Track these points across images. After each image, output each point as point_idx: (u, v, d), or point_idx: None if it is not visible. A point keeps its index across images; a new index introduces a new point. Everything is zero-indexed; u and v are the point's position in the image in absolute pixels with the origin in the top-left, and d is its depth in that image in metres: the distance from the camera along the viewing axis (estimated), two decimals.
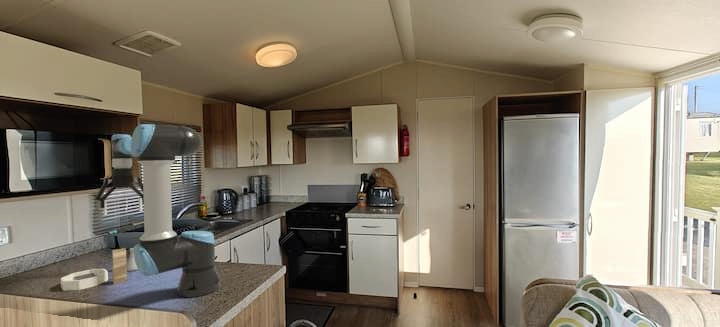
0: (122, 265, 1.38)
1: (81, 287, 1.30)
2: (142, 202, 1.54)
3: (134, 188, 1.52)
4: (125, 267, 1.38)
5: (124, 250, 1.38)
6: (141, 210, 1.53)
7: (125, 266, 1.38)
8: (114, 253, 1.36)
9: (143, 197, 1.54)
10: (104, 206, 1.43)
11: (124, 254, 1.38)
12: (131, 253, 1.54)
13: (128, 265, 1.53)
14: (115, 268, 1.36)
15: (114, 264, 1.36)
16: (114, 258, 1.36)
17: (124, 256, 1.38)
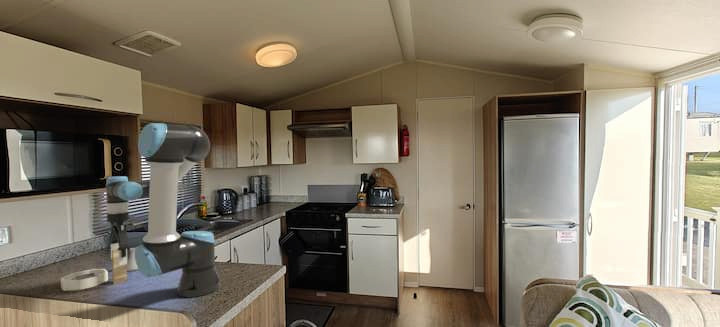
0: (122, 265, 1.38)
1: (81, 287, 1.30)
2: (121, 255, 1.33)
3: (117, 237, 1.34)
4: (125, 267, 1.38)
5: None
6: (119, 264, 1.33)
7: (125, 266, 1.38)
8: (114, 253, 1.36)
9: (117, 249, 1.32)
10: None
11: None
12: (131, 253, 1.54)
13: (128, 265, 1.53)
14: (115, 268, 1.36)
15: (114, 264, 1.36)
16: (114, 258, 1.36)
17: None
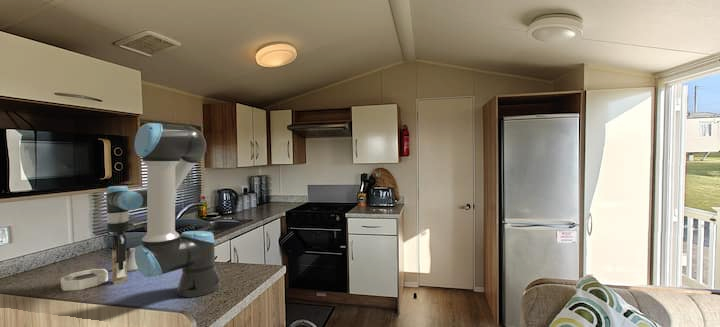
0: None
1: (81, 287, 1.30)
2: (118, 267, 1.36)
3: (116, 248, 1.36)
4: (125, 267, 1.38)
5: None
6: None
7: (125, 266, 1.38)
8: (114, 253, 1.36)
9: (115, 262, 1.35)
10: None
11: None
12: (131, 253, 1.54)
13: (128, 265, 1.53)
14: (115, 268, 1.36)
15: (114, 264, 1.36)
16: (114, 258, 1.36)
17: None
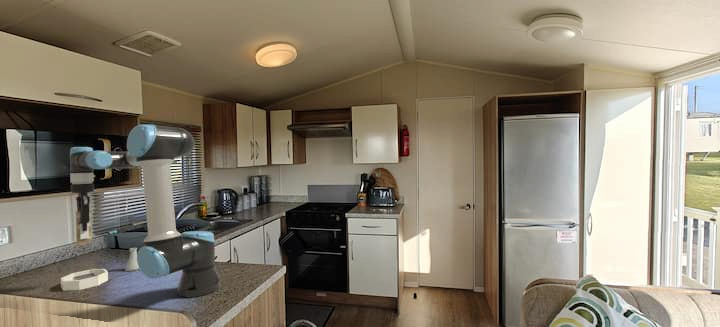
0: None
1: (81, 287, 1.30)
2: (82, 229, 1.35)
3: (80, 209, 1.35)
4: (89, 229, 1.37)
5: None
6: (80, 237, 1.35)
7: (89, 228, 1.37)
8: (78, 213, 1.35)
9: (78, 223, 1.34)
10: None
11: None
12: (131, 253, 1.54)
13: (128, 265, 1.53)
14: (79, 229, 1.35)
15: (78, 225, 1.35)
16: (78, 219, 1.35)
17: None
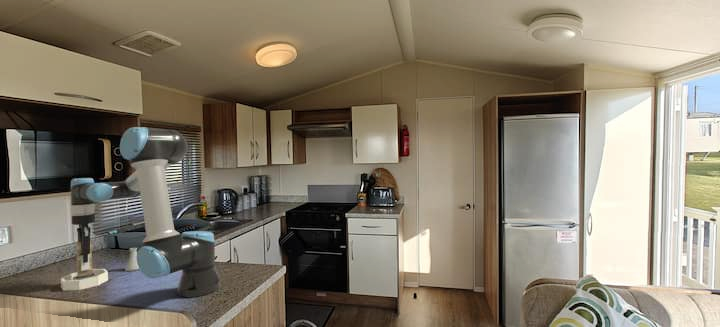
0: None
1: (81, 287, 1.30)
2: (83, 260, 1.35)
3: (81, 241, 1.35)
4: (90, 260, 1.37)
5: None
6: (81, 269, 1.35)
7: (90, 259, 1.37)
8: (78, 245, 1.35)
9: (79, 254, 1.34)
10: None
11: None
12: (131, 253, 1.54)
13: (128, 265, 1.53)
14: (79, 261, 1.35)
15: (78, 256, 1.35)
16: (78, 250, 1.35)
17: None
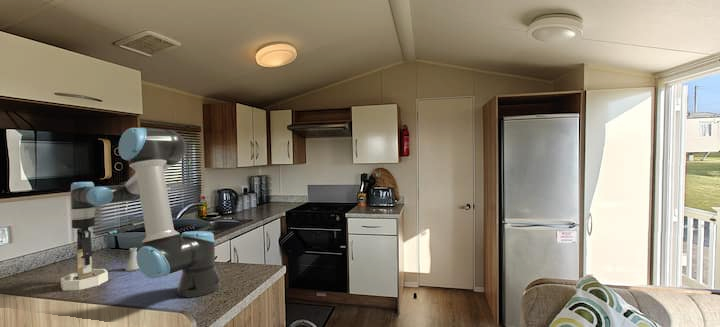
0: None
1: (81, 287, 1.30)
2: (85, 263, 1.32)
3: (81, 244, 1.34)
4: (91, 267, 1.37)
5: None
6: (83, 272, 1.32)
7: None
8: (78, 252, 1.34)
9: (81, 257, 1.31)
10: None
11: None
12: (131, 253, 1.54)
13: (128, 265, 1.53)
14: (80, 268, 1.35)
15: (79, 264, 1.34)
16: (79, 258, 1.34)
17: None
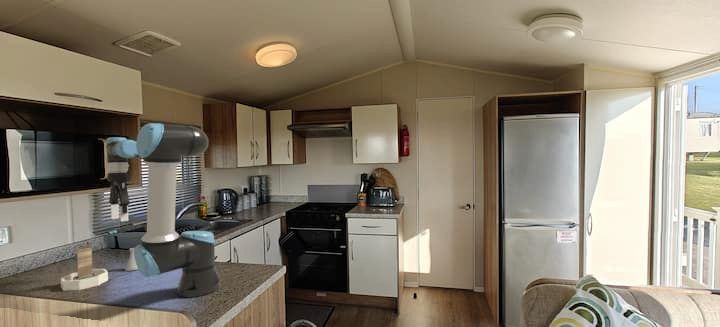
0: (88, 265, 1.37)
1: (81, 287, 1.30)
2: (122, 211, 1.37)
3: (118, 195, 1.39)
4: (91, 267, 1.37)
5: (90, 250, 1.37)
6: (120, 220, 1.37)
7: (91, 266, 1.37)
8: (79, 252, 1.35)
9: None
10: None
11: (90, 254, 1.37)
12: (131, 253, 1.54)
13: (128, 265, 1.53)
14: (80, 268, 1.35)
15: (79, 264, 1.35)
16: (79, 258, 1.35)
17: (90, 256, 1.37)
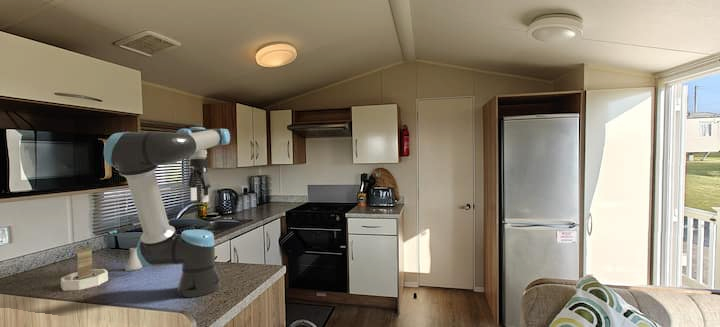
0: (88, 265, 1.37)
1: (81, 287, 1.30)
2: (204, 193, 1.53)
3: (200, 178, 1.55)
4: (91, 267, 1.37)
5: (90, 250, 1.37)
6: (202, 201, 1.53)
7: (91, 266, 1.37)
8: (79, 252, 1.35)
9: (201, 188, 1.52)
10: None
11: (90, 254, 1.37)
12: (131, 253, 1.54)
13: (128, 265, 1.53)
14: (80, 268, 1.35)
15: (79, 264, 1.35)
16: (79, 258, 1.35)
17: (90, 256, 1.37)
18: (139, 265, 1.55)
